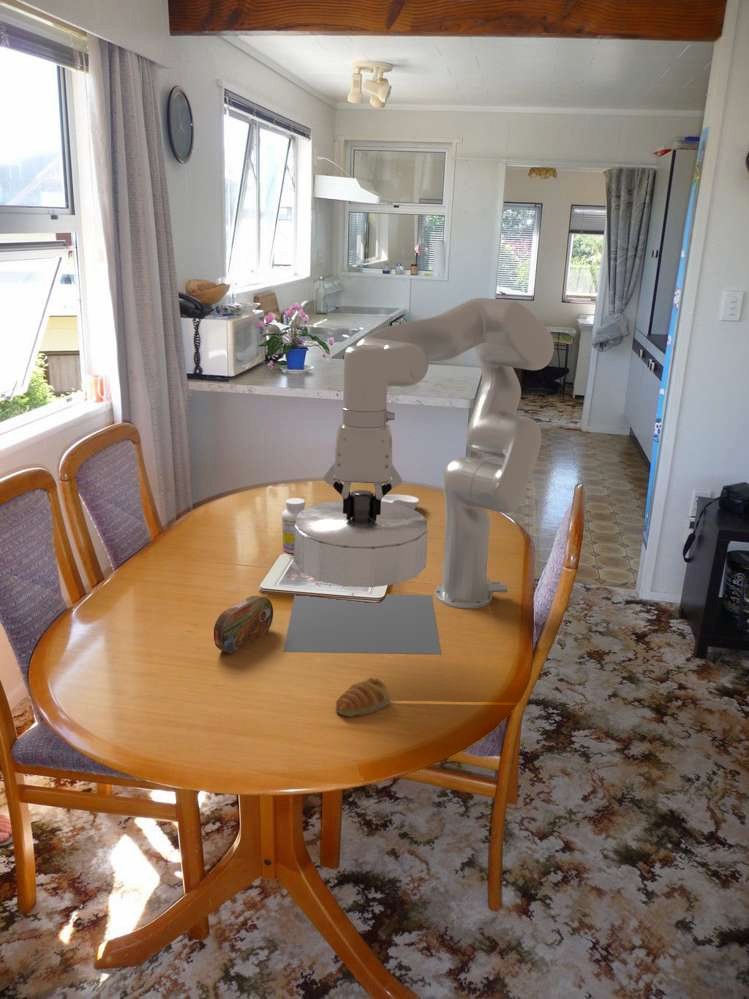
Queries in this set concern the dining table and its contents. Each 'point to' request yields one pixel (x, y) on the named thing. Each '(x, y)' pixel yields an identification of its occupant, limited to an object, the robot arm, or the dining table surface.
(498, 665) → the dining table surface
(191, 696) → the dining table surface
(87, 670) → the dining table surface
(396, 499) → the spoon rest
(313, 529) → the lidded metal pot
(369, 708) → the pastry
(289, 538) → the supplement bottle
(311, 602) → the rubber mat
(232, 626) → the tin
